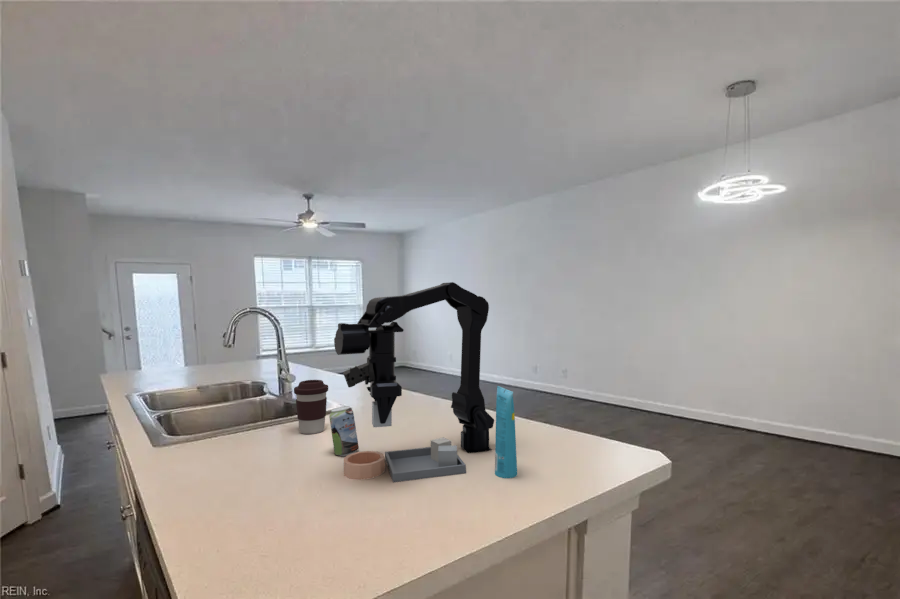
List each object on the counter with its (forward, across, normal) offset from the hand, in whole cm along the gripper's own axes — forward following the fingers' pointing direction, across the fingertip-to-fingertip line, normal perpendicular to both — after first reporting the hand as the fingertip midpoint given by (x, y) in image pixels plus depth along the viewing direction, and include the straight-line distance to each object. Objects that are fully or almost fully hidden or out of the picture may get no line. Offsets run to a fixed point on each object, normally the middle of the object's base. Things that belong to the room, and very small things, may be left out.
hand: (381, 421), depth 100 cm
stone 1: (+1, 0, 0) cm, 1 cm away
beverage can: (+12, -15, -8) cm, 21 cm away
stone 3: (+11, +4, +15) cm, 19 cm away
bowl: (+12, -1, -4) cm, 12 cm away
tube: (+11, +10, +26) cm, 30 cm away
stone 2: (+11, -3, +15) cm, 19 cm away
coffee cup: (+12, -39, -16) cm, 44 cm away
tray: (+11, 0, +10) cm, 15 cm away
